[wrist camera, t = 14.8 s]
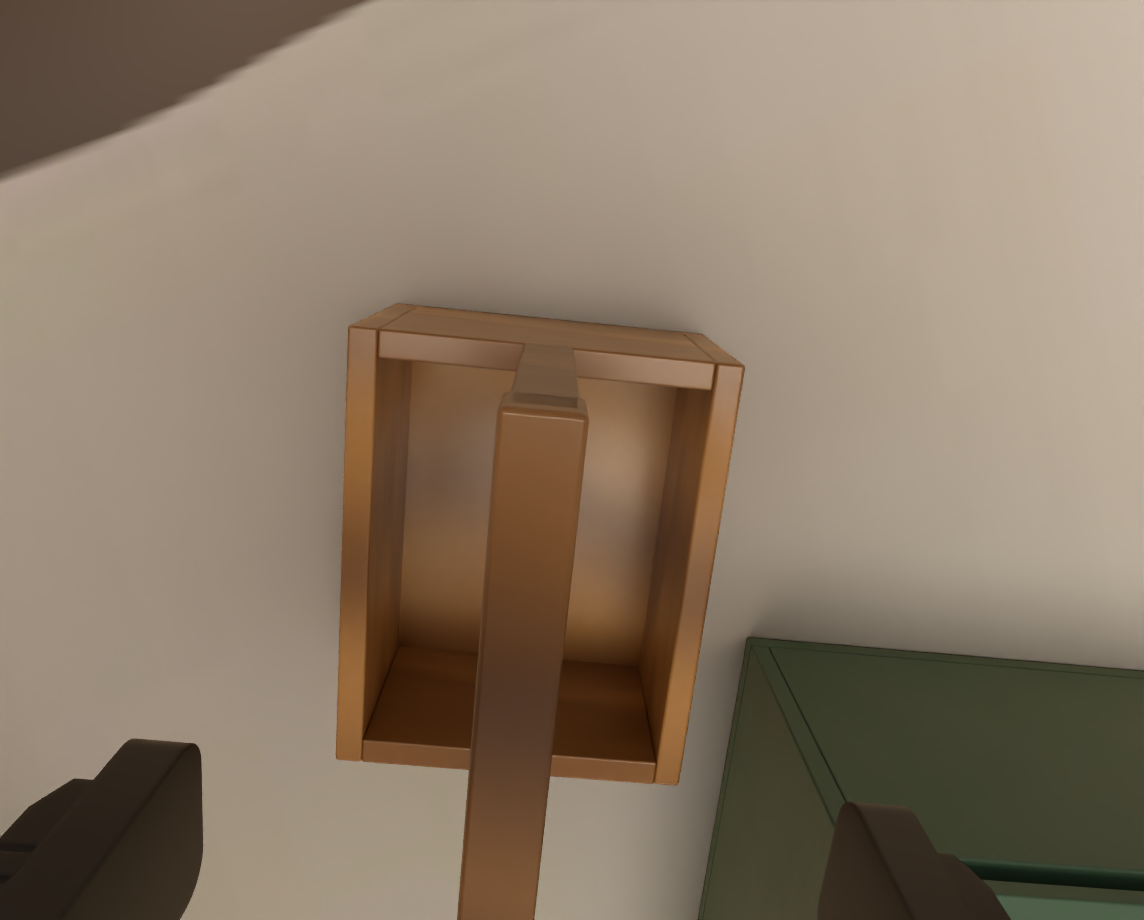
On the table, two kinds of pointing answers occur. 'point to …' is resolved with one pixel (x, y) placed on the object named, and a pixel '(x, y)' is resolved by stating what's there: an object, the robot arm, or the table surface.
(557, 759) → the basket
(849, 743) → the carton
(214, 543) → the table surface
